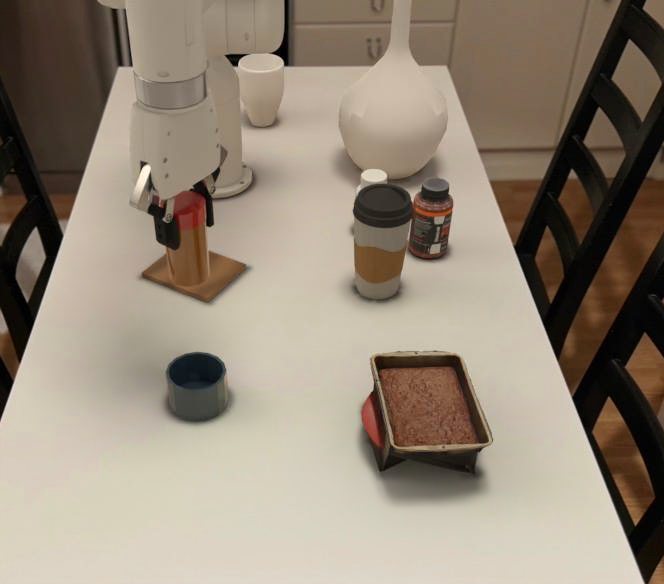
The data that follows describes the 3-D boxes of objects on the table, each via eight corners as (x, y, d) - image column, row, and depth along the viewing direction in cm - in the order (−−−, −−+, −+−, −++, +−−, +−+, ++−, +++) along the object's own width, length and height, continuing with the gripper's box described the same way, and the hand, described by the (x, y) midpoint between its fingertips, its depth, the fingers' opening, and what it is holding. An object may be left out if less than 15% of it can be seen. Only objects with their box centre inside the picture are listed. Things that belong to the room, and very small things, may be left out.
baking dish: (469, 407, 118) (472, 341, 113) (495, 496, 104) (500, 425, 98) (358, 415, 119) (355, 349, 113) (368, 504, 104) (366, 433, 99)
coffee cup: (411, 277, 136) (421, 187, 126) (397, 309, 130) (406, 218, 120) (357, 266, 138) (362, 177, 128) (341, 298, 132) (345, 207, 122)
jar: (159, 276, 111) (150, 204, 104) (188, 257, 114) (181, 185, 107) (190, 292, 109) (184, 220, 102) (219, 272, 111) (214, 200, 104)
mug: (285, 131, 169) (284, 71, 162) (240, 132, 169) (237, 71, 161) (283, 102, 178) (283, 44, 170) (240, 103, 178) (238, 44, 170)
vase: (332, 142, 166) (339, -32, 146) (432, 140, 167) (453, -33, 146) (340, 194, 153) (349, 11, 133) (449, 191, 154) (474, 9, 133)
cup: (157, 407, 116) (153, 377, 112) (192, 374, 120) (189, 344, 117) (205, 428, 113) (202, 399, 110) (239, 394, 118) (237, 364, 114)
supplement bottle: (445, 262, 139) (454, 196, 131) (406, 257, 140) (413, 192, 132) (448, 240, 143) (457, 175, 135) (410, 236, 144) (417, 171, 136)
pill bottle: (379, 219, 148) (383, 163, 141) (393, 236, 144) (398, 180, 137) (348, 225, 146) (351, 169, 140) (361, 242, 143) (365, 186, 136)
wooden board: (142, 277, 136) (141, 272, 136) (182, 245, 142) (181, 240, 142) (207, 302, 132) (207, 298, 131) (246, 268, 138) (246, 264, 137)
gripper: (199, 48, 101) (209, 193, 114) (85, 104, 91) (110, 256, 104) (252, 66, 98) (256, 213, 110) (139, 126, 88) (158, 280, 101)
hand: (185, 232), depth 107 cm, fingers closed on jar, 5 cm apart
